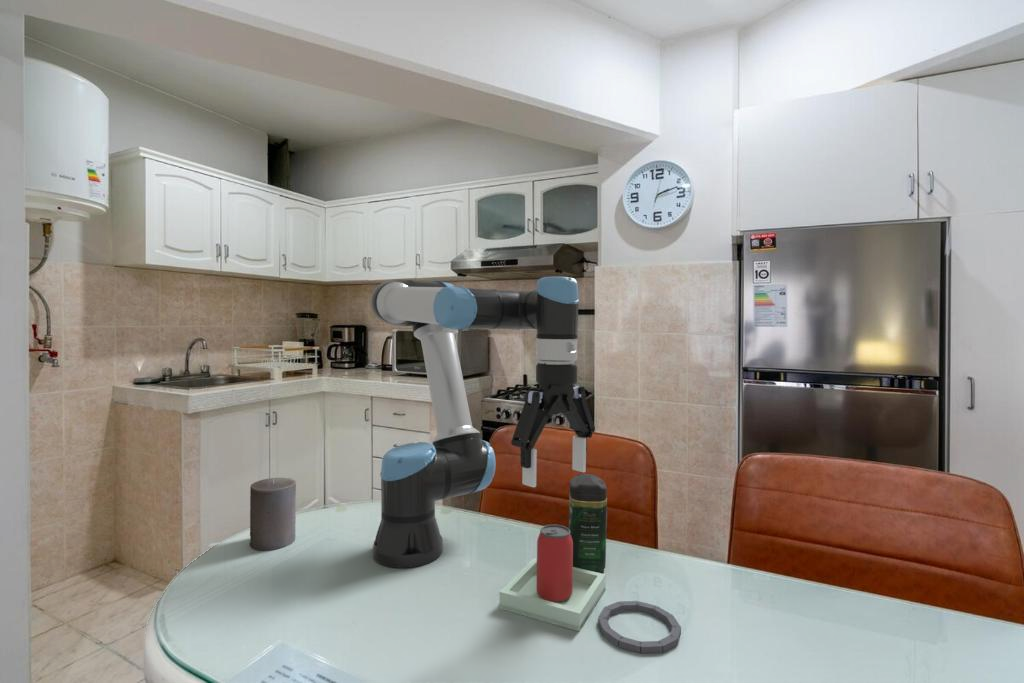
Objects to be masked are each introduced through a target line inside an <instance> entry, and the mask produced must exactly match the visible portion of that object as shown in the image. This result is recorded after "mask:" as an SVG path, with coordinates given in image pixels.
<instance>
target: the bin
mask: <svg viewBox="0 0 1024 683" xmlns="http://www.w3.org/2000/svg"><path fill="white" fill-rule="evenodd" d="M606 576H607V574H605V573H601V572H593V571H589V570H584V569H580V568H576V567H573V581H572V595H571V596H570V597H569V598H568V599H567V600H565V601H562V602H550V601H547V600H544V599H542V598H541V597H540V596H539V595H538V593H537V557H534V558H532V559H531V560H530V561H529V562H528V563H527V564H526V565H525V566H524V567H523V568H522V569H521V570H520V571H519V572H518V573H517V574H516V575H515V576H514V577H513V578H512V579H511V580H509V582H507V584H506V585H505V586H504V587H502V589H501V590H500V591H499V609H501V610H503V611H507V612H512V613H514V614H518V615H521V616H524V617H528V618H532V619H535V620H539V621H542V622H545V623H549V624H553V625H556V626H559V627H564V628H566V629H570V630H574V631H576V632H581V630H582V628H583V626H584V625H585V623H586V622H587V621H588V619H589V618H590V616H591V614H592V613H593V611H594V609H595V607H596V606H597V604H598V603H599V601H600V600H601V598H602V597H603V594H604V593H605V592H606V580H607V579H606V578H607V577H606Z"/></svg>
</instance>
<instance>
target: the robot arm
mask: <svg viewBox="0 0 1024 683" xmlns="http://www.w3.org/2000/svg"><path fill="white" fill-rule="evenodd" d="M578 284H579V283H578V281H577V280H576V279H575V278H573V277H569V276H543V277H541V278H538V279H537V283H536V288H535V290H533V289H532V290H513V289H512V290H511V289H493V288H489V289H488V288H477V287H476V288H475V287H464V286H457V285H456V286H455V285H454V284H452V283H448V282H442V281H440V280H434V281H431V280H429V281H428V280H415V279H414V280H413V279H405V278H404V279H403V278H401V279H400V278H398V279H397V278H395V279H391V280H386V281H383V282H382V283H380V284H379V285H377V286H376V287H375V289H373V291H372V293H371V296H370V308H371V311H372V313H373V314H374V316H375V317H376V318H377V319H378V320H379V321H381V322H383V323H385V324H388V325H392V326H400V327H401V326H402V327H412V331H413V336H414V337H415V338H416V339H418V340H419V341H420V342H421V348H422V354H423V359H424V366H425V372H426V376H427V382H428V388H429V394H430V399H431V400H430V401H431V406H432V410H433V411H432V412H433V416H434V424H435V429H436V435H435V437H434V438H433V440H432V441H431V442H425V441H424V442H419V441H418V442H416V443H415V442H409V443H405V444H401V445H397V446H396V447H393V448H391V449H389V450H388V451H387V452H385V454H384V455H383V457H382V459H381V471H380V474H379V475H380V482H381V483H380V486H381V487H380V489H381V490H380V493H381V499H380V502H381V504H380V506H381V507H380V508H381V509H380V511H381V519H380V522H379V527H378V529H377V532H376V536H375V539H374V541H373V545H372V558H373V560H374V561H376V563H378V564H380V565H383V566H385V567H390V568H405V569H406V568H414V567H415V568H416V567H419V566H423V565H427V564H428V563H431V562H433V561H435V560H437V559H438V558H439V557H440V556H441V555H442V554H443V550H444V549H443V548H444V547H443V546H444V545H443V544H444V541H443V537H442V535H441V532H440V528H439V525H438V522H437V521H438V520H437V519H436V518H437V517H436V501H441V500H445V499H446V500H447V499H450V498H454V497H458V496H465V495H471V494H474V493H476V492H480V491H482V490H484V489H487V488H488V487H489V486H490V484H491V483H492V481H493V478H494V476H495V472H496V464H497V462H496V455H495V450H494V448H493V447H492V446H491V443H490V442H488V441H486V440H483V439H482V437H481V432H480V431H479V430H477V428H474V426H473V424H472V423H473V422H472V417H471V413H470V412H471V411H470V407H469V403H468V398H467V392H466V386H465V382H464V381H465V380H464V377H463V372H462V368H461V361H460V356H459V351H458V345H457V342H456V336H455V334H456V333H457V332H458V331H459V330H482V329H483V330H485V329H487V330H517V331H518V330H536V340H535V341H536V346H535V347H536V348H535V351H536V352H535V359H536V360H537V361H538V363H537V364H535V370H536V371H535V381H536V383H537V384H538V386H539V387H538V391H532V390H526V392H525V396H524V405H523V407H522V410H521V413H520V416H519V418H518V421H517V424H516V426H515V430H514V433H513V436H512V438H511V441H510V443H511V445H512V446H513V447H516V448H519V449H520V462H519V463H520V467H521V468H522V481H521V482H522V485H525V486H527V487H530V488H536V487H537V471H538V469H537V465H538V464H537V460H538V458H537V457H538V453H537V450H538V449H536V448H534V447H535V445H536V443H537V441H538V440H539V437H540V436H541V434H542V432H543V430H544V428H545V426H546V424H547V423H548V420H550V419H552V417H553V415H554V416H555V415H559V414H560V413H561V414H563V415H564V417H565V418H566V420H567V422H568V424H569V425H570V427H571V428H572V431H574V432H573V433H575V435H573V436H572V452H571V453H572V459H571V460H572V462H571V467H572V468H571V469H572V470H573V471H576V472H581V473H585V472H587V471H586V470H587V469H586V468H587V465H586V464H587V462H586V461H587V452H588V438H589V439H590V438H592V437H593V433H595V431H596V426H595V423H594V421H593V417H592V413H591V411H590V408H589V406H588V404H589V403H588V402H587V398H586V388H585V386H583V385H582V386H581V385H575V384H577V383H578V365H577V363H574V362H576V361H578V337H579V336H578V333H579V326H578V325H579V304H580V299H579V285H578Z"/></svg>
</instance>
